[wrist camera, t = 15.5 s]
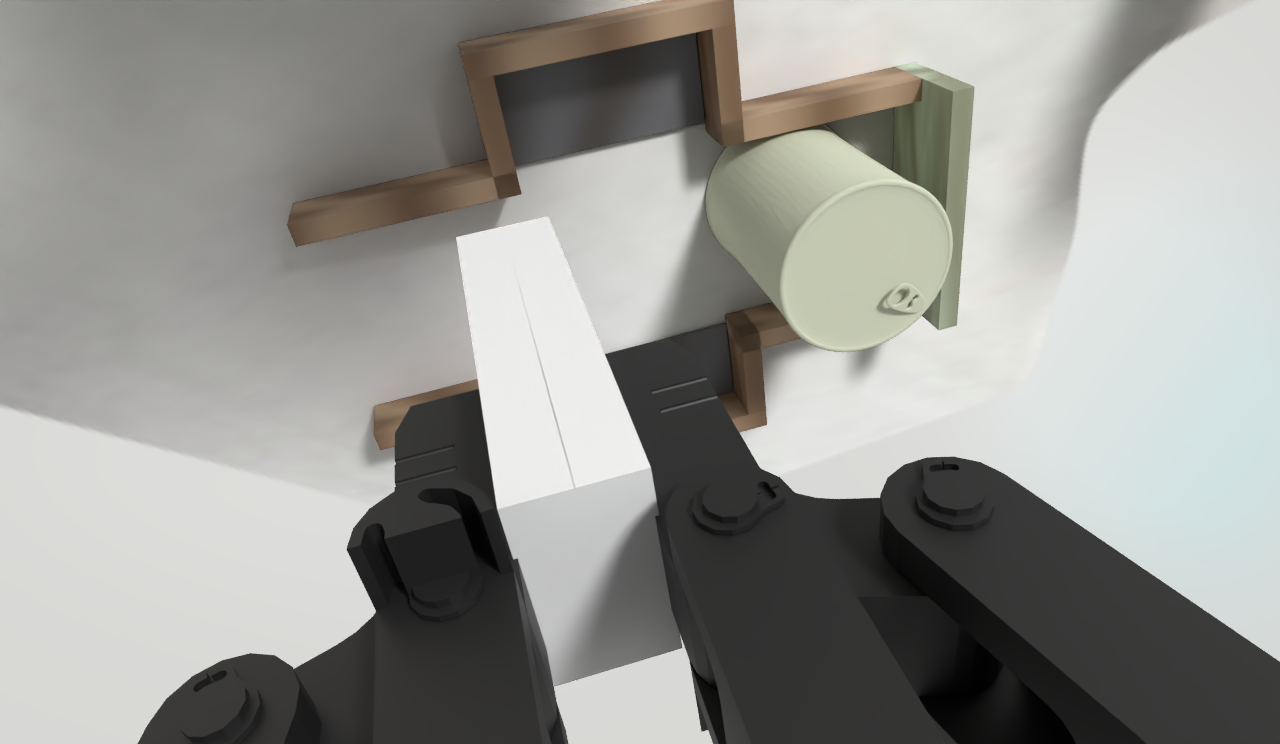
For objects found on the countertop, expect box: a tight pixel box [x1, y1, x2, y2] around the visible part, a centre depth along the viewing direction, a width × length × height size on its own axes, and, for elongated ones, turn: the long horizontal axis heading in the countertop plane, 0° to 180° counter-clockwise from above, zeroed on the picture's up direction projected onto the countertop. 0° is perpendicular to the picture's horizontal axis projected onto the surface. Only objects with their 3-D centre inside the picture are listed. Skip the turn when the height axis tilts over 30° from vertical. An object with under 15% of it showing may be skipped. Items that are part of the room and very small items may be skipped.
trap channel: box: [287, 0, 974, 450], centre depth 47 cm, size 35×26×6 cm
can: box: [706, 124, 953, 352], centre depth 45 cm, size 9×9×12 cm
